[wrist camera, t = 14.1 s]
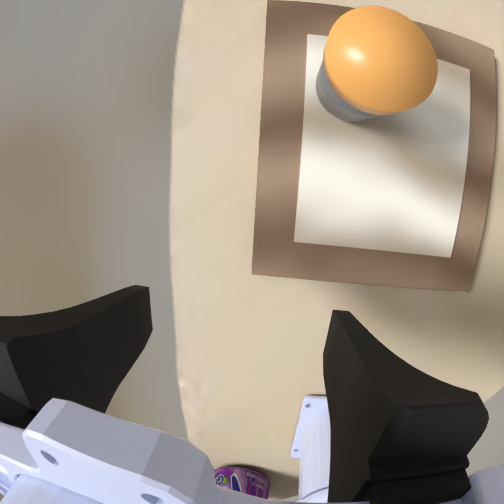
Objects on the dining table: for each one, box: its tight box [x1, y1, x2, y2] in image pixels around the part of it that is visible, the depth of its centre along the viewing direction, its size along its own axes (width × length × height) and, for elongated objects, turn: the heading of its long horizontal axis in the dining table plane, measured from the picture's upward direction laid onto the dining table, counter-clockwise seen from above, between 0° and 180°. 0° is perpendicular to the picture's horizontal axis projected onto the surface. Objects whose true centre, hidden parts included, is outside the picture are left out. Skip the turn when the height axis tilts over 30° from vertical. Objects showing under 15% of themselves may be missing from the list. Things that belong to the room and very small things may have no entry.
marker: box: [316, 6, 438, 122], centre depth 13 cm, size 4×4×8 cm
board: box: [252, 0, 496, 292], centre depth 18 cm, size 18×16×1 cm
